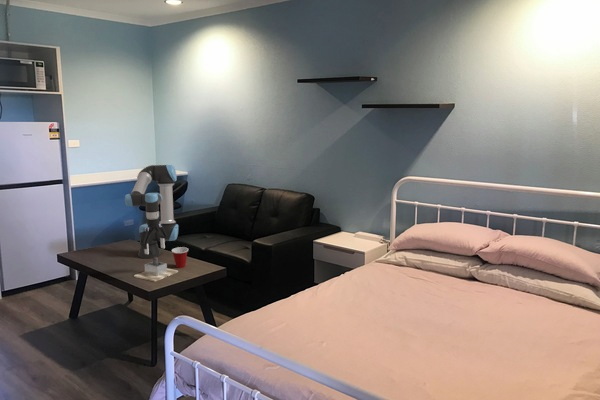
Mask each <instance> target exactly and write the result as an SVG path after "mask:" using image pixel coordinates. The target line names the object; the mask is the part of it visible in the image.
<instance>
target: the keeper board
mask: <svg viewBox="0 0 600 400" xmlns="http://www.w3.org/2000/svg"><path fill="white" fill-rule="evenodd" d="M152 261H153V265H156V266H158V262H159V259H158V256H157V257H154V258H152ZM177 273H179V270H176V269H172V268H168V267H167V273H164V274H162V275H160V276H155V275H150V274H145V270H144V271H142V272H140V273H136V274H134V275H133V277H134V278H137V279H142V280H146V281H150V282H159V281H160V280H162V279H165V278H167V276H168V277H169V276H172V275H175V274H177Z"/></svg>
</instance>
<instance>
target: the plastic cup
mask: <svg viewBox="0 0 600 400" xmlns="http://www.w3.org/2000/svg"><path fill="white" fill-rule="evenodd" d="M171 252H172V256H173V259H174V262H175V266H176V268H178V269H181V268H185V267H186V266H187V265H186V264H187V257H188V252H189V248H188V247H185V246H182V247H181V246H180V247H179V246H177V247H175V248H172V249H171Z"/></svg>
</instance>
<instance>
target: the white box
mask: <svg viewBox="0 0 600 400" xmlns="http://www.w3.org/2000/svg"><path fill="white" fill-rule="evenodd" d="M167 268H168V265H167V262H162V261H158V266H156V265H153V260H152V261H150V262H148V263H145V264H144V271H145V274H150V275H155V276H160V275H162V274H164V273H167Z"/></svg>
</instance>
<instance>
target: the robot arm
mask: <svg viewBox="0 0 600 400" xmlns="http://www.w3.org/2000/svg"><path fill="white" fill-rule="evenodd" d="M136 177H137V178H136V182H135V184H134V187H133V189H132V190H131V193H127V194H125V195H124V204H125V206H127V207H141V206H143V207H145V216H146V223H144V224H141V225H139V229H138V230H139V231H138V232H139V244H140V245H139V250H138V254H137V255H138V258H141V259H153V258H154V257H157V258H158V257H159V256H161V250H160V248H161V249H165V248H166V245H165V243H166V242H168V241H169V242H171V241H176V240H177V238H178V235H179V224H177V221H176V220H175V218H174V198H173V192H174V191H173V186H175V182H176V181H177V177H178V176H177V172H176V168H175V166H174V165H173V164H158V165H157V164H152V165H151V164H150V165H148V166H146V167H144V168H143V169H141V170H140V171H139V172H138V173H137V176H136ZM151 182H152V183H153V182H155V183H157V185H158V186H159V192H148V193H146V190H147V188H148V185H149V184H151ZM159 205H160V207H159ZM159 208H160V211H159ZM158 242H160V248H159V245H158Z"/></svg>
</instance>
